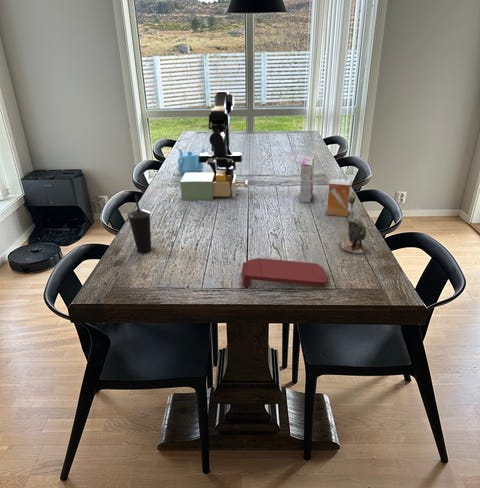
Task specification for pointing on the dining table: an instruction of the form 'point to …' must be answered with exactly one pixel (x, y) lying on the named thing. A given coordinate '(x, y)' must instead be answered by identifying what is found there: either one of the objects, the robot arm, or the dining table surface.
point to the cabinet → (197, 186)
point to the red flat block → (283, 272)
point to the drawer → (226, 186)
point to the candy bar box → (307, 179)
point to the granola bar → (221, 176)
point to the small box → (338, 197)
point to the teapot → (189, 162)
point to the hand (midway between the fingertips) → (221, 176)
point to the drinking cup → (141, 228)
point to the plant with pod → (355, 232)
